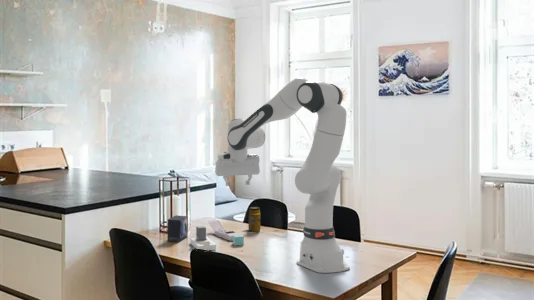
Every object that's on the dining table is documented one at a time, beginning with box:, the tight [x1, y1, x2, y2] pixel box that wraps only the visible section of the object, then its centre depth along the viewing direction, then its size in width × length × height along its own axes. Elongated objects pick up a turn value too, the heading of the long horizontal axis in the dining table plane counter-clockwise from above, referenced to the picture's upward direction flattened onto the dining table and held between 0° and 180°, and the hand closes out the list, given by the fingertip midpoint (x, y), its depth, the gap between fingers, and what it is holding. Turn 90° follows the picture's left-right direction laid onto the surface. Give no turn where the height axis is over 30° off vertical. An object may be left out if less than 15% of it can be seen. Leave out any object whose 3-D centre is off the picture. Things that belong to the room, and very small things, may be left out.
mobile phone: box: [208, 219, 240, 242], centre depth 256 cm, size 6×6×25 cm
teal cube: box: [232, 234, 245, 247], centre depth 239 cm, size 4×4×4 cm
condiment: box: [242, 206, 264, 234], centre depth 266 cm, size 7×8×12 cm
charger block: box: [195, 225, 207, 241], centre depth 238 cm, size 4×4×8 cm
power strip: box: [190, 236, 217, 251], centre depth 235 cm, size 16×8×3 cm, turn 20°
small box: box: [167, 214, 188, 243], centre depth 249 cm, size 11×6×10 cm, turn 168°
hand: (237, 185), depth 238 cm, fingers open, 8 cm apart
